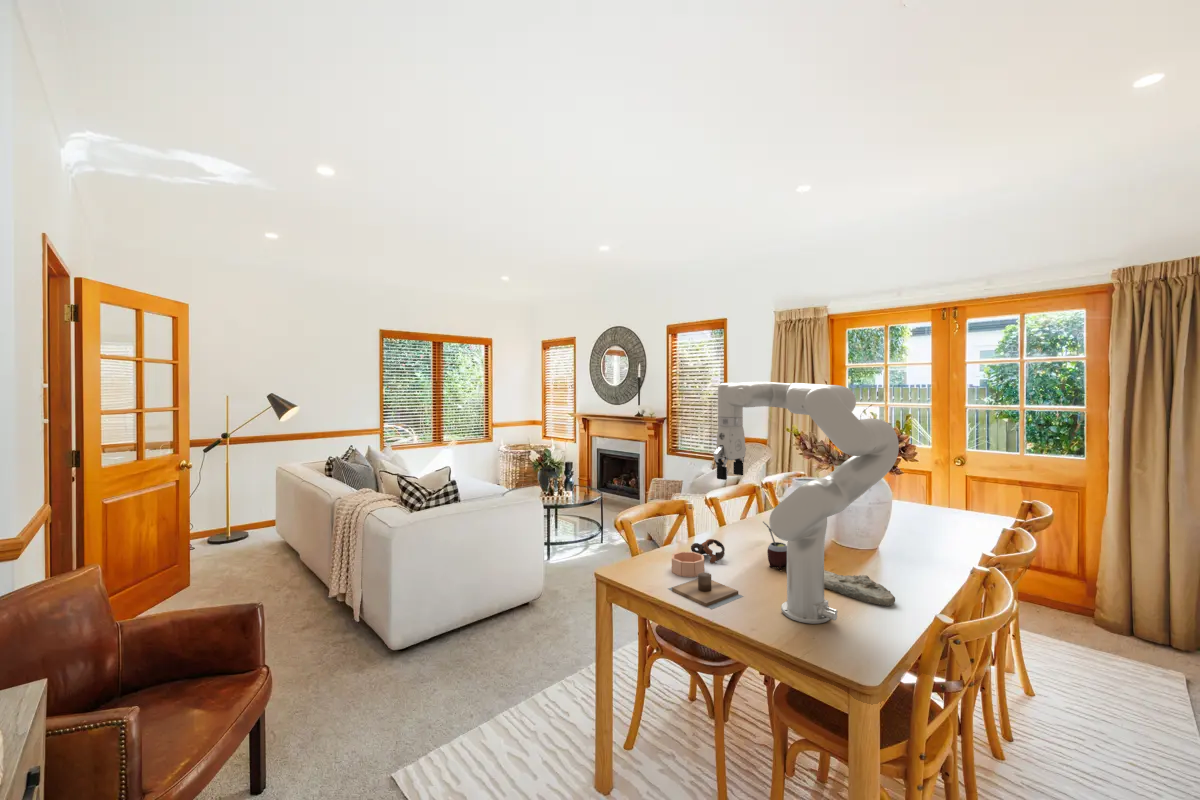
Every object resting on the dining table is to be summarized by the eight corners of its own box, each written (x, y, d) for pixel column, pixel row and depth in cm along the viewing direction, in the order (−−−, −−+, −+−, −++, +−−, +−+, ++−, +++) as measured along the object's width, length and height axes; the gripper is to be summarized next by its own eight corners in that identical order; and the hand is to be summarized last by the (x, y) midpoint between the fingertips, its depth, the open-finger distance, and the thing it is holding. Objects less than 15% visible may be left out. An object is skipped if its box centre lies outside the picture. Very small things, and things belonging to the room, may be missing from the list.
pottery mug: (717, 555, 187) (725, 539, 183) (720, 574, 178) (728, 558, 174) (686, 547, 186) (693, 532, 182) (688, 567, 178) (696, 551, 174)
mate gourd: (791, 571, 168) (791, 527, 167) (767, 570, 168) (767, 527, 168) (785, 563, 175) (785, 521, 175) (762, 563, 176) (762, 521, 176)
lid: (738, 594, 149) (738, 576, 149) (706, 606, 141) (705, 588, 141) (703, 579, 161) (703, 563, 161) (672, 590, 153) (671, 573, 153)
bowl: (710, 572, 168) (710, 557, 168) (688, 580, 162) (687, 565, 162) (687, 563, 177) (687, 549, 177) (665, 570, 171) (665, 556, 170)
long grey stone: (797, 570, 172) (779, 578, 167) (796, 555, 172) (777, 563, 167) (903, 601, 143) (885, 612, 137) (901, 583, 143) (883, 593, 137)
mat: (743, 597, 148) (743, 596, 148) (711, 610, 140) (711, 609, 140) (699, 579, 162) (699, 577, 162) (667, 590, 154) (667, 588, 154)
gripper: (726, 425, 146) (726, 482, 146) (755, 421, 158) (755, 474, 158) (704, 423, 151) (704, 479, 152) (734, 420, 163) (734, 471, 164)
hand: (730, 476), depth 155 cm, fingers open, 9 cm apart
